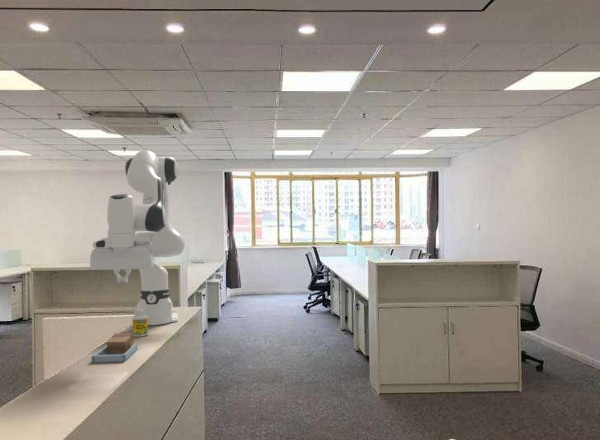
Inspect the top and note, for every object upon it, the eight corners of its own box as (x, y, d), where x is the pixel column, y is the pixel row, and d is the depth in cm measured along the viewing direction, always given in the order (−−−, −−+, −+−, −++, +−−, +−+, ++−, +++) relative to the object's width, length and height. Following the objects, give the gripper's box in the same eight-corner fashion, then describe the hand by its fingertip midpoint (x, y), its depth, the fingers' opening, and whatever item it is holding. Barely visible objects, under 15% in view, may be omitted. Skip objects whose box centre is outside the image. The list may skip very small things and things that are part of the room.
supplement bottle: (145, 332, 177) (145, 308, 177) (149, 335, 173) (149, 310, 173) (131, 334, 174) (131, 309, 174) (134, 337, 170) (134, 311, 170)
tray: (107, 350, 152) (107, 344, 152) (137, 349, 153) (137, 343, 153) (91, 363, 139) (91, 356, 139) (125, 361, 139) (124, 355, 139)
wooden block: (115, 333, 154) (106, 342, 146) (133, 332, 155) (125, 341, 147) (115, 344, 155) (107, 354, 147) (133, 343, 155) (126, 353, 147)
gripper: (155, 240, 158) (156, 280, 158) (94, 241, 156) (95, 281, 156) (150, 241, 151) (151, 282, 152) (87, 243, 150) (88, 284, 150)
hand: (122, 282), depth 154 cm, fingers closed
